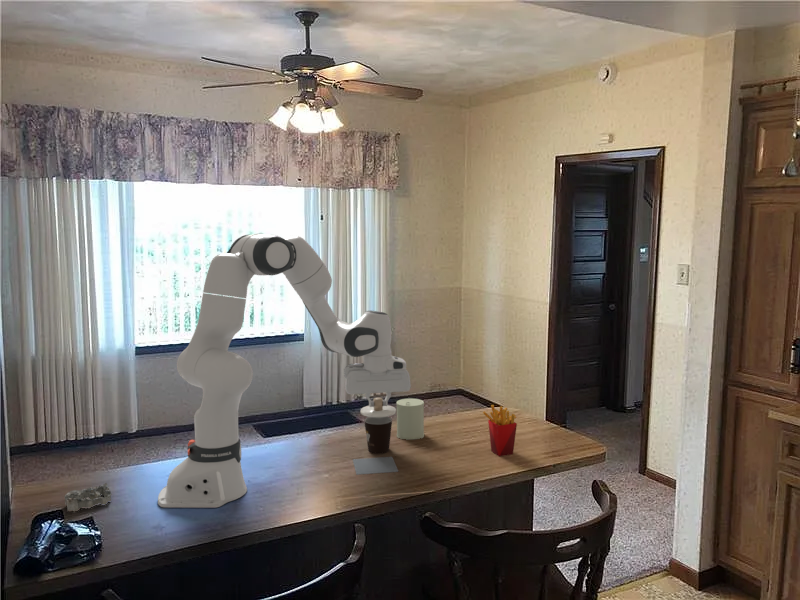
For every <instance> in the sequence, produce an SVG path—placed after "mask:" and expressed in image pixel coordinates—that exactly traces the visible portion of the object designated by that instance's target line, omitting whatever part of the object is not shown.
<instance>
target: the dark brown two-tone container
mask: <svg viewBox="0 0 800 600" xmlns="http://www.w3.org/2000/svg"><path fill="white" fill-rule="evenodd" d="M363 422H364V429H365V437H366V442H367V451H368V452H369V453H371V454H376V455H380V454H381V455H383V454H386V453H388V452H389V451H390V445H391V435H392V426H393V425H392V423H393V419H392V418H391V416H388V417H379V418H375V417H366V418H364V421H363Z"/></svg>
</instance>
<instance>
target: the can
mask: <svg viewBox="0 0 800 600" xmlns="http://www.w3.org/2000/svg"><path fill="white" fill-rule="evenodd" d="M424 406H425V402H424V400H422V399H419V398H412V397H411V398H402V399H399V400H396V438H398V439H399V438H400V440H402V439H406V441H407V440H409V441H410V440H421V439H423V438H424V437H425V429H424V428H425V425H424V424H425V423H424V422H425V421H424V420H425V419H424V418H425V417H424V415H425V412H424V411H425V409H424ZM420 438H421V439H420Z"/></svg>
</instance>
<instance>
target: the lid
mask: <svg viewBox="0 0 800 600" xmlns="http://www.w3.org/2000/svg"><path fill="white" fill-rule="evenodd" d="M383 398H384V397H374V398H373V400H374V407H369V405H366V406H363V407H362V408H360V415H362V416H364V417H366V418H368V417H375V418H379V417H391V416H394V415H395V414H397V407H394V406H392V405H389V404H388V406H383V400H384V399H383Z"/></svg>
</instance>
